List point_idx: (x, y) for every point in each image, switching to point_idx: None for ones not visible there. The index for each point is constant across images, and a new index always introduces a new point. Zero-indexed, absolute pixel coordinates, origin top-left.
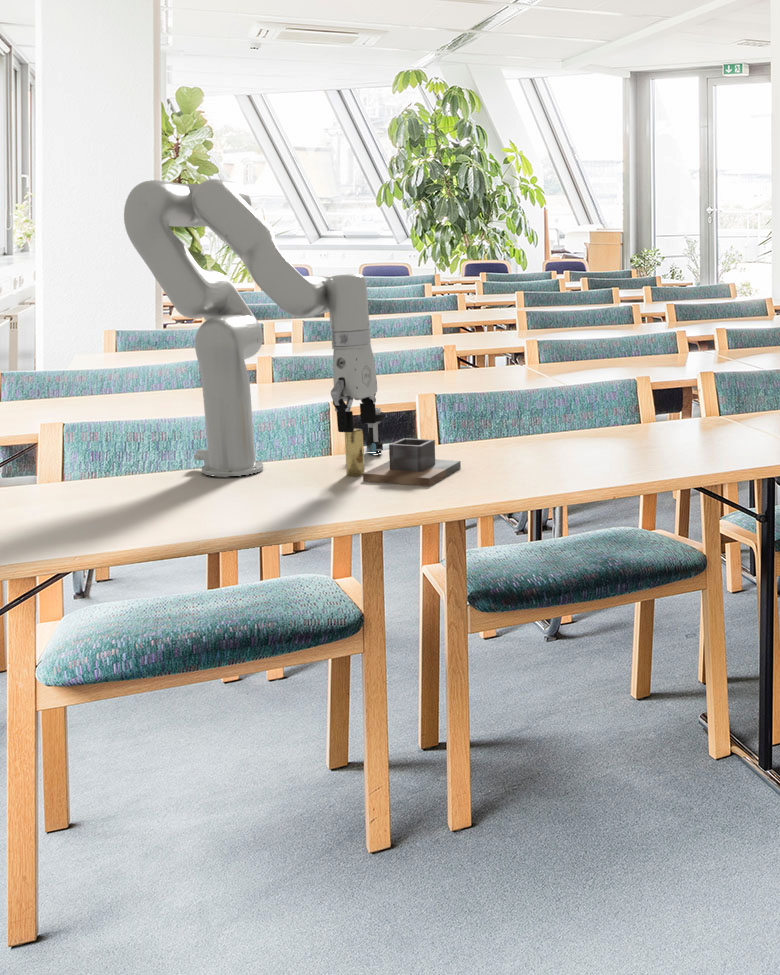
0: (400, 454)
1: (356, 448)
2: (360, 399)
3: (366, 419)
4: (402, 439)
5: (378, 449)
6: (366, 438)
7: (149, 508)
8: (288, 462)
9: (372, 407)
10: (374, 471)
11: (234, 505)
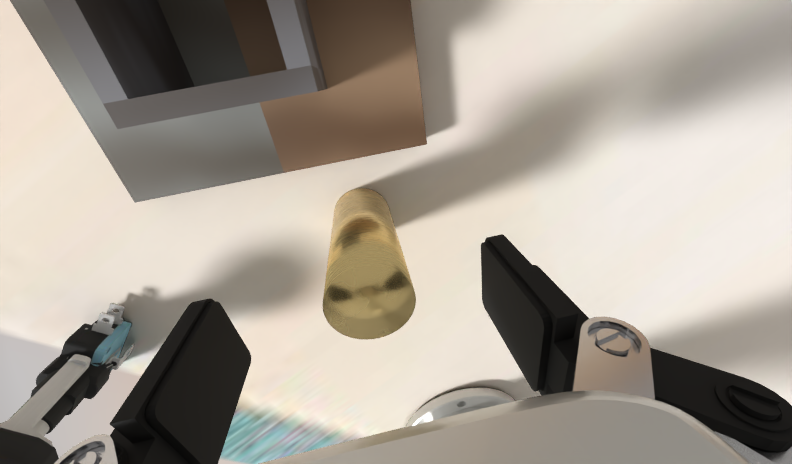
0: (303, 18)
1: (389, 233)
2: (512, 402)
3: (231, 350)
4: (151, 109)
5: (104, 328)
6: (95, 394)
7: (730, 343)
8: (341, 412)
9: (170, 390)
10: (383, 125)
11: (714, 248)
